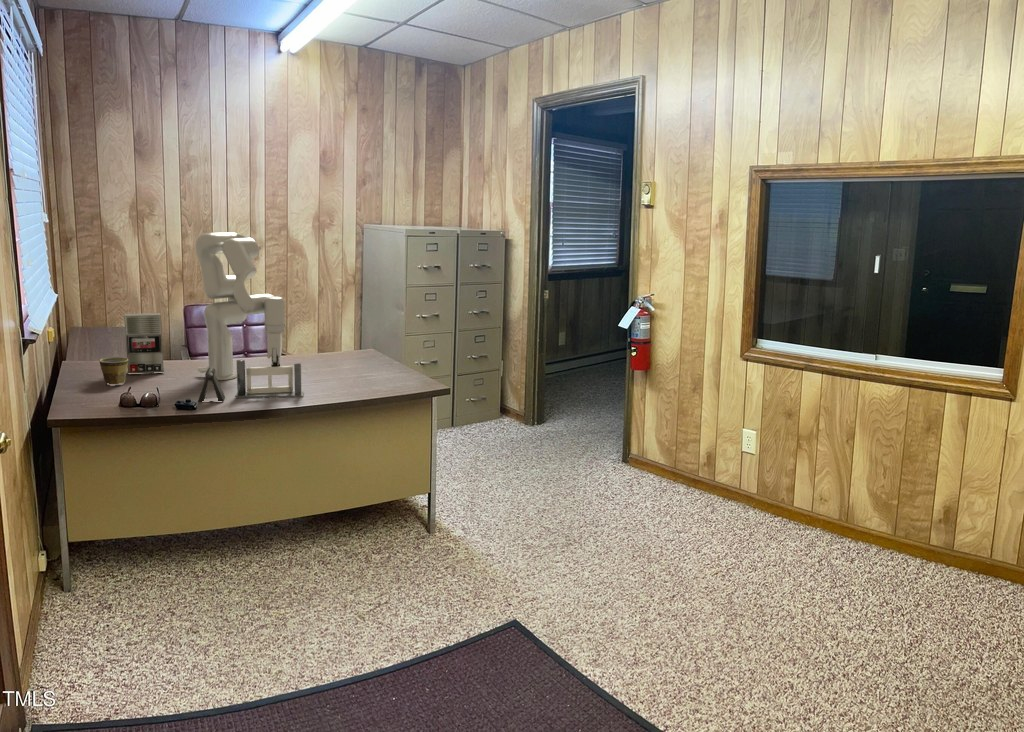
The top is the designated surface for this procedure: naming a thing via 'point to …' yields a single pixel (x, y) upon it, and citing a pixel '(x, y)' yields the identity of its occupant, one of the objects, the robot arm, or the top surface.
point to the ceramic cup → (114, 369)
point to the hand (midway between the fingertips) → (275, 374)
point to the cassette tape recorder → (144, 343)
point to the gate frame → (243, 394)
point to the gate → (270, 379)
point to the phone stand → (215, 383)
